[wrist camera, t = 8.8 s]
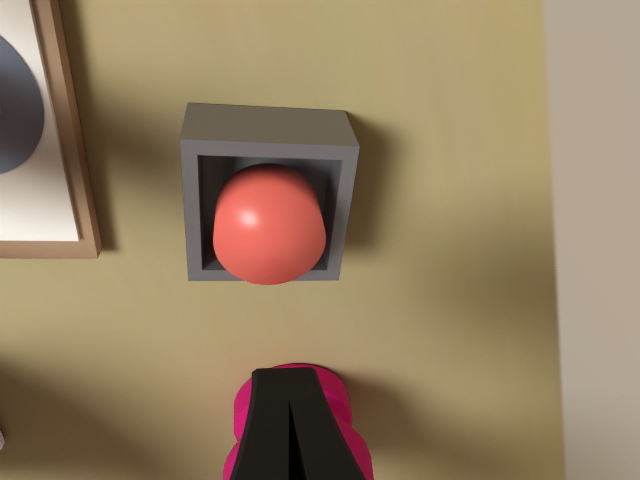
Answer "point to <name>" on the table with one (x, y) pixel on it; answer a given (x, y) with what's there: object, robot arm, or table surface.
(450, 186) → the table surface
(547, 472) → the table surface
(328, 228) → the button box
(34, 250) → the clipboard
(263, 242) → the button
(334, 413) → the pepper mill
